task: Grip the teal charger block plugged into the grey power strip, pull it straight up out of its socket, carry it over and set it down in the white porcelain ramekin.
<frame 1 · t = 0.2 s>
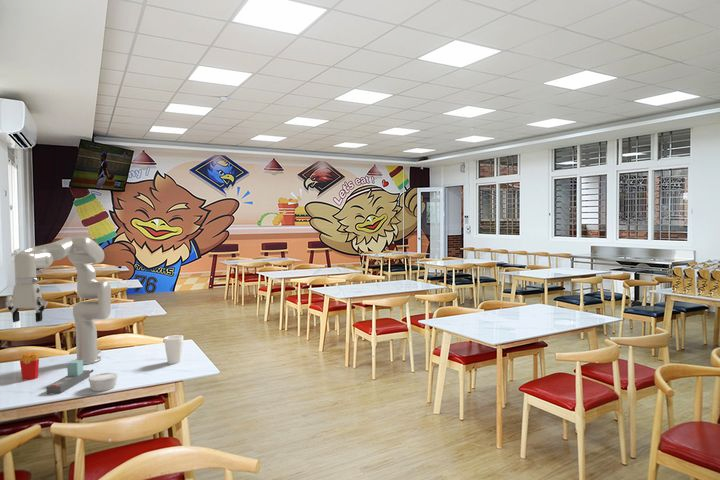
hand: (27, 321, 203), 31 cm above the table, tool pointing down, fingers open, 9 cm apart
foam cup: (174, 362, 245), on the table
french fries: (30, 378, 223), on the table
ramekin: (103, 388, 208), on the table
charger: (75, 374, 218), point 3 cm above the table, touching power strip
power strip: (69, 384, 213), on the table
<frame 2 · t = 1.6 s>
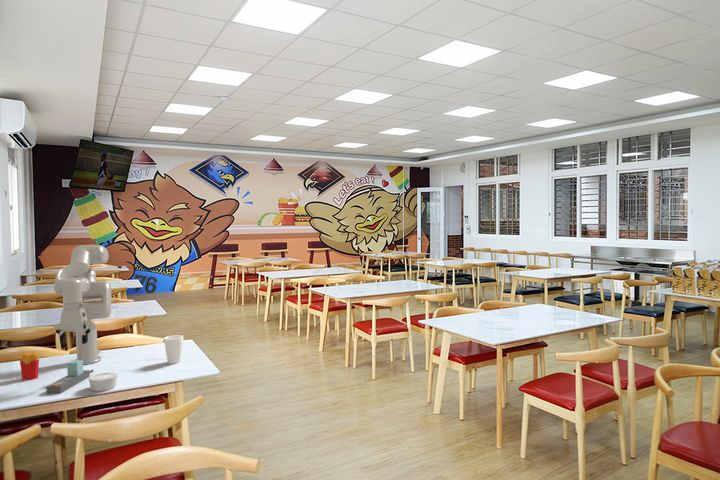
hand: (74, 343, 217), 17 cm above the table, tool pointing down, fingers open, 9 cm apart
nothing on the table moved.
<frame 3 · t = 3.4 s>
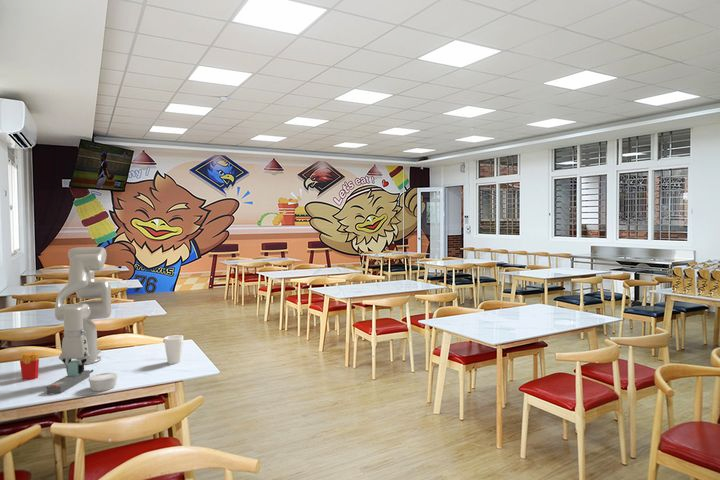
hand: (75, 372, 218), 4 cm above the table, tool pointing down, fingers closed on charger, 4 cm apart
charger: (75, 374, 218), point 3 cm above the table, touching gripper, power strip
everything else where it was.
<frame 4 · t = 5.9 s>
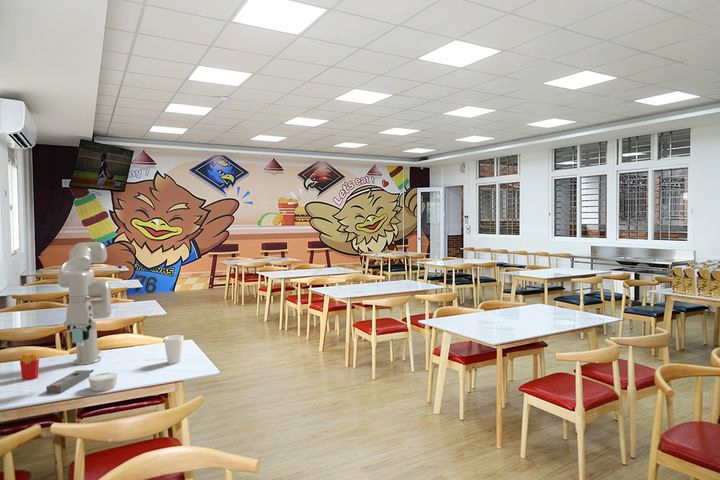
hand: (80, 339, 214), 20 cm above the table, tool pointing down, fingers closed on charger, 4 cm apart
charger: (80, 341, 214), point 19 cm above the table, touching gripper
everything else where it was.
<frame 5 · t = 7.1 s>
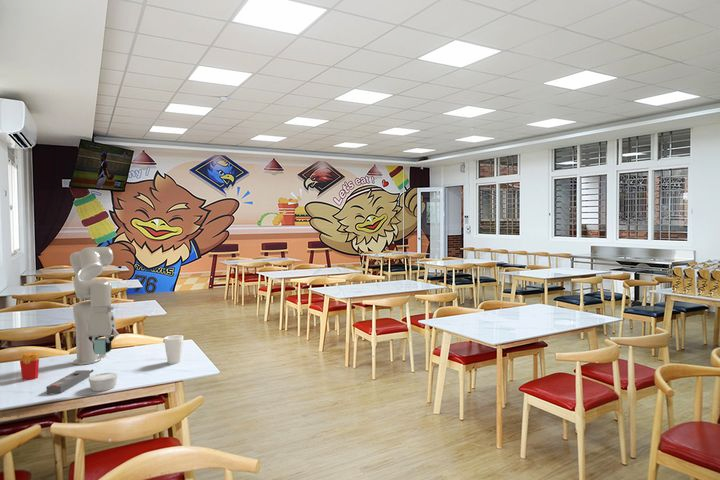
hand: (102, 350, 207), 16 cm above the table, tool pointing down, fingers closed on charger, 4 cm apart
charger: (102, 352, 207), point 16 cm above the table, touching gripper
everything else where it was.
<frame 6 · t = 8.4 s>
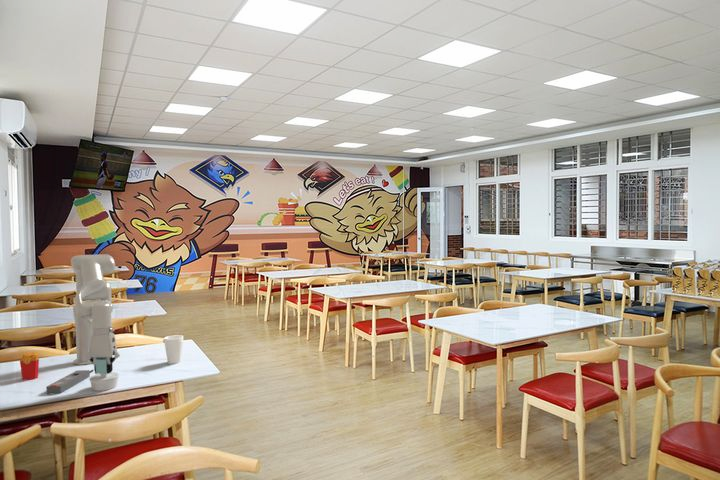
hand: (103, 372, 207), 7 cm above the table, tool pointing down, fingers closed on charger, 4 cm apart
ramekin: (104, 388, 208), on the table, touching charger
charger: (104, 371, 208), point 7 cm above the table, touching gripper, ramekin
everything else where it was.
when the fingers open (7 cm above the table, at t = 8.4 s): charger stays where it is, resting on ramekin.
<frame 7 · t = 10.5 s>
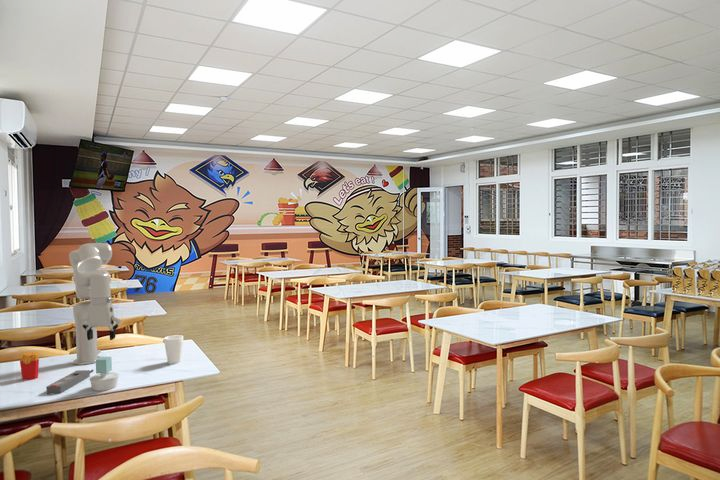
hand: (101, 339, 209), 21 cm above the table, tool pointing down, fingers open, 9 cm apart
charger: (104, 371, 208), point 7 cm above the table, touching ramekin
everything else where it was.
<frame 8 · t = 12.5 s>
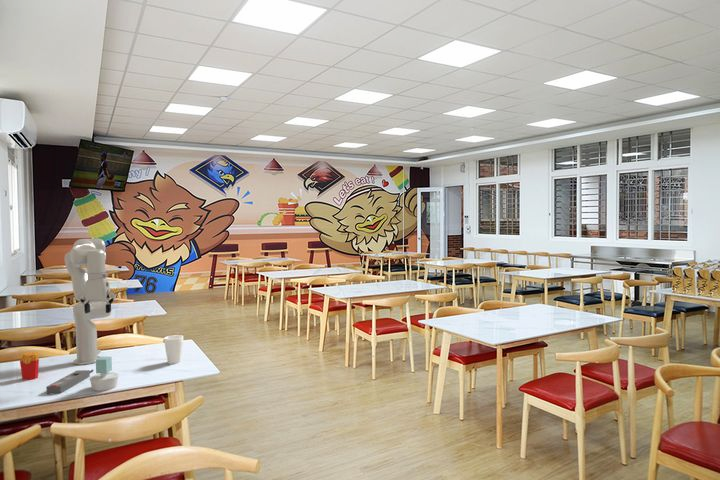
hand: (97, 312, 223), 30 cm above the table, tool pointing down, fingers open, 9 cm apart
nothing on the table moved.
at the end: charger 0.3 cm from the ramekin (horizontally); charger point 7.1 cm above the table; charger touching ramekin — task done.
